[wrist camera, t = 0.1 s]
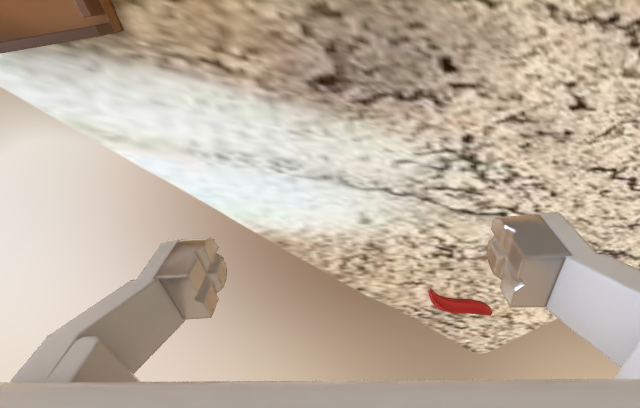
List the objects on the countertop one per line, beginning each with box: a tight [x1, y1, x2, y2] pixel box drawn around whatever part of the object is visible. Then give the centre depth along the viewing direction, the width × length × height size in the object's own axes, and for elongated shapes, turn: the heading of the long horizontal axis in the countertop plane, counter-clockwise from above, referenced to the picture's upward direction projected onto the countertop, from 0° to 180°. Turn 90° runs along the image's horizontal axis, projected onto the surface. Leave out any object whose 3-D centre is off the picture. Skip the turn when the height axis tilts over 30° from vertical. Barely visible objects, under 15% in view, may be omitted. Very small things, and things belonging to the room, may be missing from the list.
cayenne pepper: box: [429, 289, 492, 316], centre depth 50 cm, size 12×5×2 cm, turn 58°
